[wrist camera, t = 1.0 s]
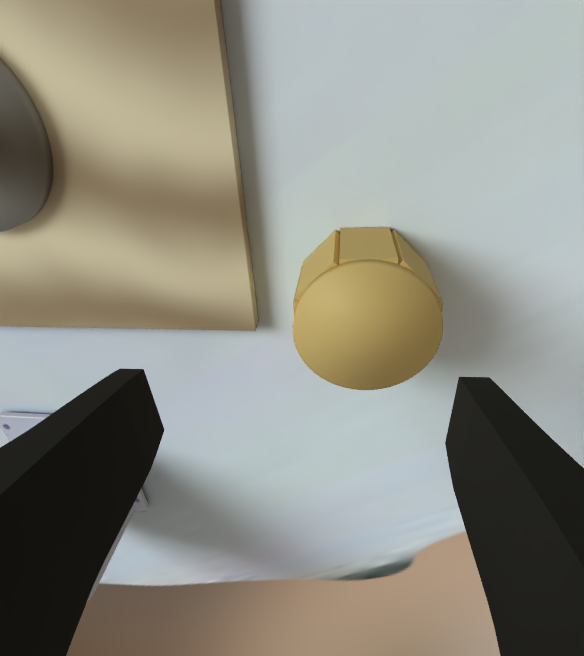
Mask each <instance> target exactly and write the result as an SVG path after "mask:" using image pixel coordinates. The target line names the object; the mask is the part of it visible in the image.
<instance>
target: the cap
mask: <svg viewBox="0 0 584 656" xmlns="http://www.w3.org/2000/svg"><path fill="white" fill-rule="evenodd" d="M442 305H443V302H442V300H441V296H440V294H439V292H438V289H437V287H436V285H435V282H434V280H433V278H432V275H431V273H430V271H429V269H428V266H427V264H426V262H425V260H424V259H423V258H422V257H421V256H420V255H419V254H418V253H417V252H416V251H415V250H414V249H413V248H412V247H411V246H410V245H409V244H408V243H407V242H406V241H405V240H404V239H403V238H402V237H401V235H400V234H399V233H398V232H397V231H396V230H395V229H394V230H392V231H390V228H389V227H363V228H341V230H340V234H339V233H338V232H337V231H336V230H335V231H334V232H333V233H332V234H331V235H330V236H329V237H328V238H327V239H326V240H325V241H324V242H323V243H322V244H321V245H320V246H319V247H318V248H317V249H316V250H315V251H314V252H313V253H312V254H311V255H310V256H309V257H308V258H307V259H306V260H305V261H304V262H303V266H302V268H301V272H300V276H299V280H298V284H297V289H296V293H295V297H294V301H293V306H294V322H293V337H294V342H295V346H296V349H297V351H298V353H299V355H300V357H301V358H302V360H303V361H304V363H305V364H306V365H307V366H308V367H309V368H310V369H311V370H312V371H313V372H314V373H315V374H317V375H318V376H320V377H321V378H323V379H325V380H327V381H328V382H331V383H333V384H335V385H338V386H342V387H345V388H350V389H357V390H375V389H382V388H387V387H391V386H394V385H397V384H399V383H402V382H404V381H406V380H408V379H410V378H411V377H413V376H414V375H416V374H417V373H419V372H420V371H421V370H422V369H423V368H424V367H425V366H426V365H427V364H428V363H429V362H430V361H431V359H432V358H433V356H434V355H435V353H436V352H437V349H438V347H439V345H440V342H441V338H442V331H443V322H442V315H441V311H442Z"/></svg>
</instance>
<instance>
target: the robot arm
mask: <svg viewBox="0 0 584 656" xmlns="http://www.w3.org/2000/svg"><path fill="white" fill-rule="evenodd" d="M0 426H1V428H2V430H3V431H4V433H5V434H6V436H7V437H8V439H9V441H10V442H9V443H7V444H6V445H4V446H2V447H1V448H0V656H66V654H67V652H68V649H69V646H70V644H71V641H72V638H73V635H74V633H75V630H76V628H77V625H78V623H79V620H80V618H81V615H82V613H83V610H84V608H85V605H86V603H87V602H88V601H89V599H90V598H91V596H92V595H93V593H94V591H95V589H96V588H97V586H98V584H99V582H100V580H101V578H102V576H103V573H104V571H105V569H106V567H107V565H108V563H109V561H110V559H111V557H112V555H113V553H114V551H115V549H116V547H117V545H118V543H119V541H120V539H121V537H122V535H123V533H124V531H125V529H126V527H127V525H128V523H129V521H130V519H131V517H132V515H133V513H134V511H136V512H144V511H146V510H147V508H148V503H147V500H146V498H145V496H144V493H143V491H142V486H143V484H144V482H145V480H146V478H147V476H148V474H149V471H150V469H151V467H152V464H153V461H154V459H155V456H156V453H157V450H158V447H159V444H160V441H161V438H162V435H163V432H164V428H163V425H162V422H161V419H160V416H159V413H158V410H157V407H156V404H155V401H154V398H153V395H152V393H151V390H150V387H149V384H148V381H147V378H146V375H145V372H144V369H119V370H117V371H115V372H114V373H112V374H110V375H109V376H107V377H106V378H104V379H102V380H101V381H99V382H98V383H96V384H95V385H93V386H92V387H90V388H89V389H88V390H86V391H85V392H83V393H82V394H80V395H79V396H77V397H76V398H74V399H73V400H72V401H70V402H69V403H67V404H66V405H64V406H63V407H61V408H60V409H58V410H57V411H55V412H54V413H53V414H34V413H14V412H1V413H0ZM445 444H446V450H447V456H448V462H449V468H450V473H451V478H452V483H453V488H454V492H455V495H456V499H457V502H458V505H459V509H460V512H461V515H462V519H463V522H464V525H465V529H466V532H467V535H468V539H469V542H470V545H471V548H472V551H473V555H474V558H475V561H476V565H477V568H478V571H479V574H480V578H481V581H482V584H483V588H484V591H485V594H486V597H487V601H488V605H489V608H490V612H491V616H492V619H493V623H494V627H495V631H496V636H497V641H498V646H499V650H500V654H501V656H584V468H583V467H582V466H581V465H579V464H578V463H577V462H576V461H575V460H574V459H573V458H572V457H571V456H570V455H569V454H567V453H566V452H565V451H564V450H563V449H562V448H561V447H560V446H559V445H558V444H557V443H556V442H555V441H554V440H553V439H551V438H550V437H549V436H548V435H547V434H546V433H545V432H544V431H543V430H542V429H541V428H540V427H539V426H538V425H537V424H536V423H535V422H534V421H533V420H532V419H531V418H530V417H529V416H528V415H527V414H526V413H525V412H524V411H523V410H522V409H521V408H520V407H519V406H518V405H517V404H516V403H515V402H514V401H513V400H512V399H511V398H510V397H509V396H508V395H507V394H506V393H505V392H504V391H503V390H502V389H501V388H500V387H499V386H498V385H497V384H496V383H495V382H493V381H492V380H491V379H490V378H485V377H459V380H458V385H457V390H456V394H455V399H454V404H453V409H452V414H451V418H450V423H449V428H448V433H447V437H446V442H445Z"/></svg>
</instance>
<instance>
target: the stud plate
mask: <svg viewBox="0 0 584 656" xmlns="http://www.w3.org/2000/svg"><path fill="white" fill-rule="evenodd" d="M258 322H259V321H258V312H257V304H256V296H255V287H254V279H253V270H252V262H251V253H250V245H249V237H248V228H247V220H246V211H245V203H244V194H243V186H242V178H241V169H240V161H239V152H238V144H237V135H236V127H235V119H234V110H233V102H232V93H231V85H230V76H229V68H228V60H227V51H226V43H225V34H224V26H223V17H222V9H221V1H220V0H0V326H34V327H90V328H145V329H200V330H256V328H257V325H258Z"/></svg>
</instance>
